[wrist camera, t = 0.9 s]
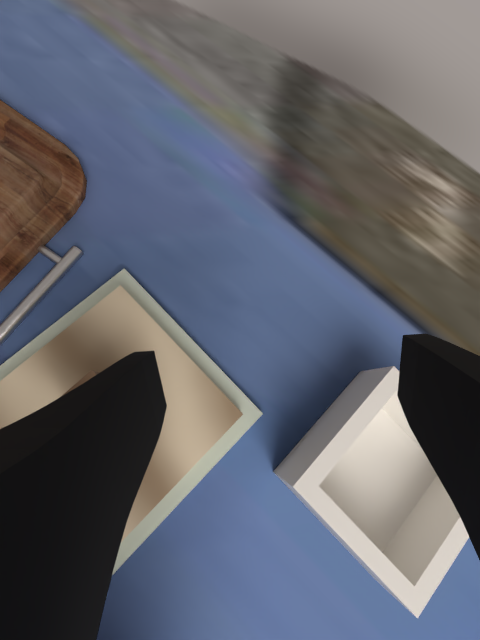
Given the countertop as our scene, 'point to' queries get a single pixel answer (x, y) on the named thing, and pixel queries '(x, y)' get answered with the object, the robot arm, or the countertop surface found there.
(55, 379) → the birch lid
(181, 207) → the countertop surface
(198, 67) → the countertop surface
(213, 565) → the countertop surface
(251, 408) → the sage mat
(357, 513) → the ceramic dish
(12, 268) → the chopping board
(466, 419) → the robot arm
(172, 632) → the countertop surface
